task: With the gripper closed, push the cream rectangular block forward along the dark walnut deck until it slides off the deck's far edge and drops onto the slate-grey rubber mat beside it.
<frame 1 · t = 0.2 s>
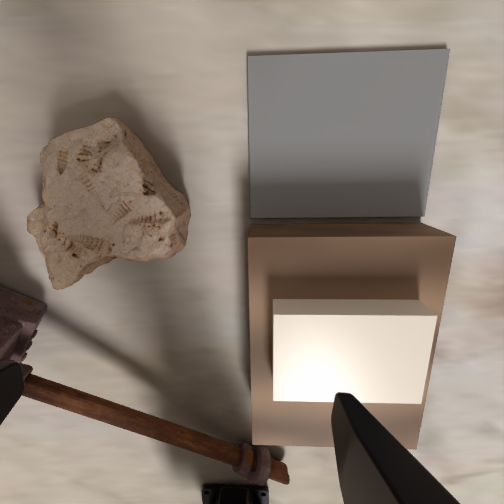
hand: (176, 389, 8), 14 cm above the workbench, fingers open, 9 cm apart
stone: (128, 210, 22), on the workbench
mat: (340, 141, 19), on the workbench
hammer: (131, 378, 26), on the workbench
cream rectangular block: (341, 341, 19), point 4 cm above the workbench, touching deck
deck: (328, 323, 23), on the workbench
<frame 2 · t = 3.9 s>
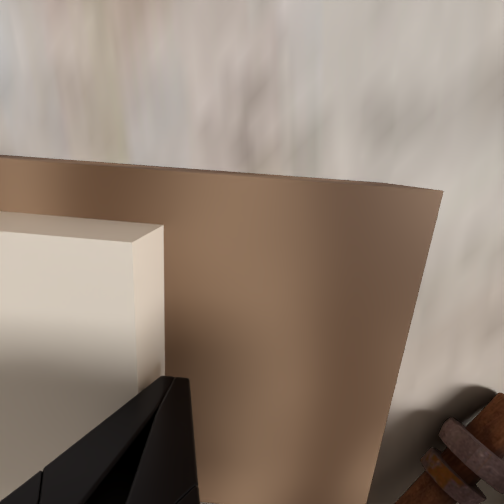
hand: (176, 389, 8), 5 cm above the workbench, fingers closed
cream rectangular block: (73, 353, 10), point 4 cm above the workbench, touching deck, gripper
deck: (180, 305, 13), on the workbench
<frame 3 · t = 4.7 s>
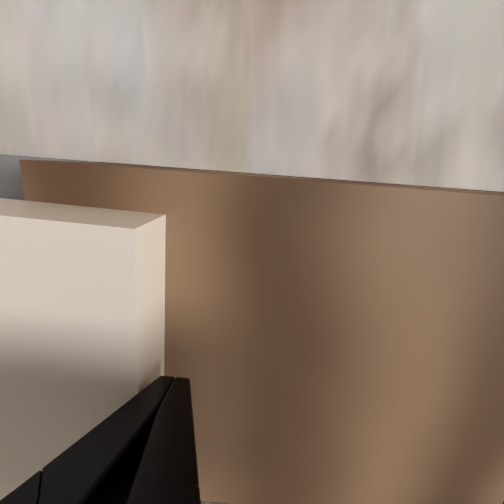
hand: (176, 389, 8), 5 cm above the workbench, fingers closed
cream rectangular block: (72, 343, 9), point 4 cm above the workbench, touching deck, gripper
deck: (284, 314, 13), on the workbench
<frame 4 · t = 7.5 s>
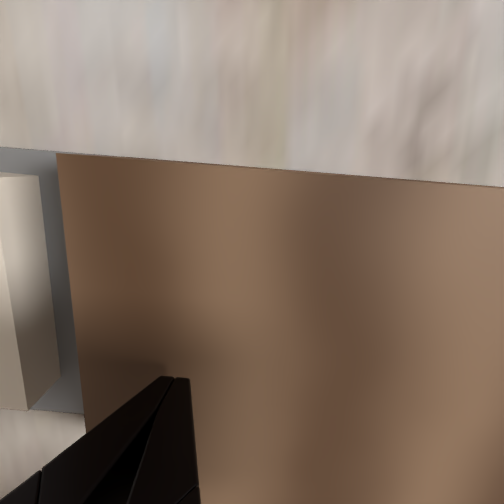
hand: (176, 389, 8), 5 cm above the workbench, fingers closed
mat: (7, 292, 13), on the workbench
deck: (318, 317, 13), on the workbench
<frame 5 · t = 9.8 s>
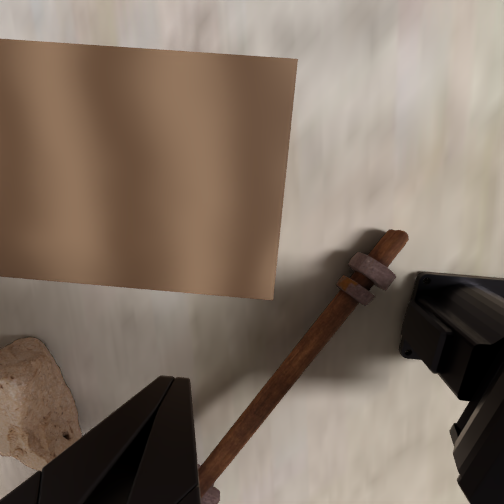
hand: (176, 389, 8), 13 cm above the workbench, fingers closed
stone: (43, 382, 25), on the workbench
hammer: (247, 387, 24), on the workbench
deck: (156, 178, 19), on the workbench
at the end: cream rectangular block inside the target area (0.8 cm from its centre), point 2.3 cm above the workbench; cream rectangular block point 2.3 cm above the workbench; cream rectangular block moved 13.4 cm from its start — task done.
